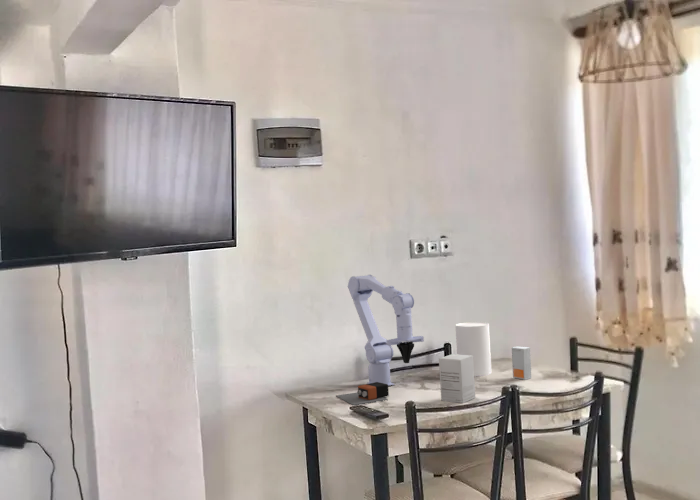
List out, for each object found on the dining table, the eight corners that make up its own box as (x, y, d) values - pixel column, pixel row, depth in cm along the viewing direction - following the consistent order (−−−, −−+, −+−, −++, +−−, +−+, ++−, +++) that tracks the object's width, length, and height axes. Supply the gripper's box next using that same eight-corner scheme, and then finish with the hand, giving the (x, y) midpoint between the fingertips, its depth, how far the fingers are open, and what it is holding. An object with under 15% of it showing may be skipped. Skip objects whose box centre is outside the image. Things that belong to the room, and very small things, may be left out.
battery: (389, 396, 261) (367, 401, 255) (377, 393, 266) (355, 398, 260) (388, 384, 261) (366, 388, 255) (377, 381, 266) (355, 386, 260)
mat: (336, 396, 267) (336, 395, 267) (368, 391, 272) (368, 390, 272) (353, 405, 251) (353, 404, 251) (387, 400, 256) (387, 399, 256)
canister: (451, 372, 299) (449, 324, 299) (478, 368, 305) (476, 321, 304) (470, 377, 287) (467, 327, 286) (498, 373, 293) (495, 324, 292)
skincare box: (512, 378, 282) (510, 347, 282) (519, 376, 284) (518, 345, 284) (524, 380, 277) (523, 348, 277) (532, 378, 280) (530, 347, 279)
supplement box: (453, 395, 258) (451, 353, 258) (476, 397, 252) (473, 355, 252) (440, 400, 251) (437, 357, 251) (462, 403, 245) (460, 359, 245)
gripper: (391, 329, 263) (393, 366, 263) (426, 325, 268) (428, 361, 269) (383, 327, 270) (385, 363, 270) (417, 323, 275) (419, 359, 275)
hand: (406, 362), depth 270 cm, fingers closed
